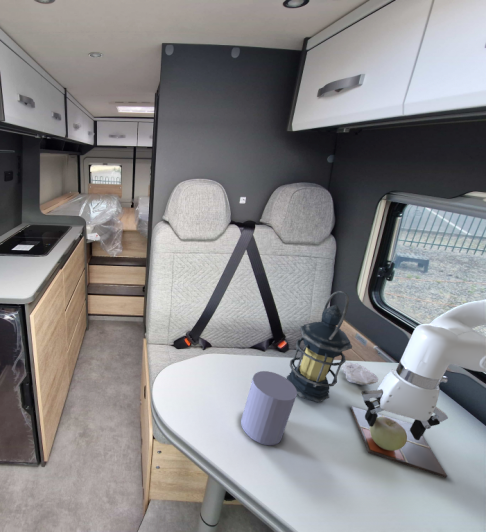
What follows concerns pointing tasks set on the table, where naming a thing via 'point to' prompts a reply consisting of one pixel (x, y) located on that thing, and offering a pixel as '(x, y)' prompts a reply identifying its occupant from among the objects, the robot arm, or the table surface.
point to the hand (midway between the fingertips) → (390, 428)
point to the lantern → (320, 353)
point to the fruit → (388, 434)
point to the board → (409, 454)
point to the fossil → (358, 374)
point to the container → (268, 407)
